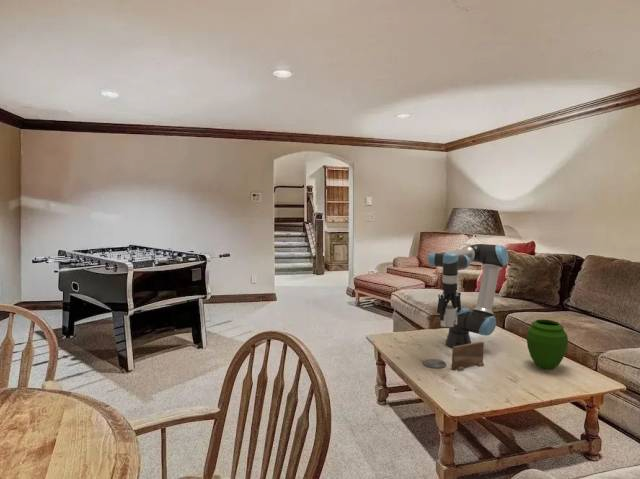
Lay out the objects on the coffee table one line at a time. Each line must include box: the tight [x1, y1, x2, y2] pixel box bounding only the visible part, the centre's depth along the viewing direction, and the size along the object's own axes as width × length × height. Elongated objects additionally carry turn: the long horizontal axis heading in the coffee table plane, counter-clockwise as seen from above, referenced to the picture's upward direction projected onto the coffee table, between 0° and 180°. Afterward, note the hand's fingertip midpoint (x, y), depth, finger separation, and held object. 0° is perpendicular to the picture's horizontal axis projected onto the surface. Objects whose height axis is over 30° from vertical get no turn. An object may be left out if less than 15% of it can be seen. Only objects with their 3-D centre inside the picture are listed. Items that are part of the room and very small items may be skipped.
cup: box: [442, 304, 457, 328], centre depth 214 cm, size 8×8×10 cm
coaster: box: [422, 358, 447, 370], centre depth 220 cm, size 12×12×1 cm
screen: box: [450, 341, 485, 372], centre depth 216 cm, size 6×20×12 cm, turn 114°
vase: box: [525, 319, 569, 371], centre depth 214 cm, size 20×20×24 cm
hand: (448, 325), depth 214 cm, fingers closed on cup, 8 cm apart
